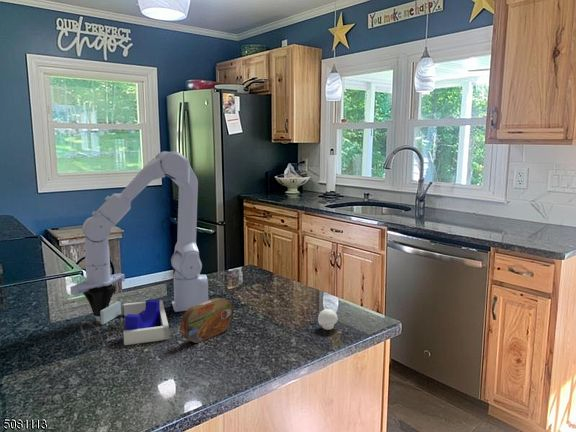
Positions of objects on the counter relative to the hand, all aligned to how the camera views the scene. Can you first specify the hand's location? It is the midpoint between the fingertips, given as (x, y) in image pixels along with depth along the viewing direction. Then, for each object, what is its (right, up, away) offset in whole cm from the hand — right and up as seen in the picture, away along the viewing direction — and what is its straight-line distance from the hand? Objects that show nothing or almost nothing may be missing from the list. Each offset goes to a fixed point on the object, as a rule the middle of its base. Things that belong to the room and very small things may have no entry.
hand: (100, 314), depth 113 cm
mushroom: (+59, -3, -4) cm, 59 cm away
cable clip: (+13, -3, -6) cm, 14 cm away
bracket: (+13, -2, -3) cm, 13 cm away
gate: (+3, -2, +2) cm, 3 cm away
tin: (+30, -4, -8) cm, 31 cm away
